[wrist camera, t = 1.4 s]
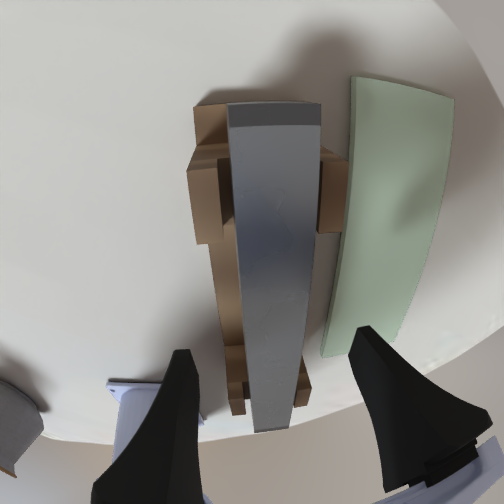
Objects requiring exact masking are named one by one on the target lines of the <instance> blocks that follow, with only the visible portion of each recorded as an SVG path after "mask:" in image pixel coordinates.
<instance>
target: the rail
mask: <svg viewBox="0 0 504 504" xmlns="http://www.w3.org/2000/svg"><path fill="white" fill-rule="evenodd" d="M226 115H227V131H228V147H229V161H230V176H231V190H232V203H233V216H234V229H235V241H236V254H237V266H238V277H239V289H240V300H241V311H242V322H243V333H244V343H245V353H246V363H247V373H248V383H249V393H250V402H251V411H252V418H253V426H254V433H259V432H267V431H274V430H281V429H287V428H289V423H290V418H291V413H292V408H293V402H294V397H295V391H296V386H297V380H298V374H299V368H300V361H301V355H302V348H303V341H304V334H305V327H306V320H307V312H308V304H309V295H310V287H311V277H312V268H313V257H314V246H315V234H316V221H317V207H318V190H319V169H320V137H321V104H317V103H309V102H301V101H261V102H238V103H226Z"/></svg>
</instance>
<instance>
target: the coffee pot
mask: <svg viewBox="0 0 504 504" xmlns="http://www.w3.org/2000/svg"><path fill="white" fill-rule="evenodd" d="M43 430H44V425H43V420H42V418H41V415H40V413H39V412H38V411H37V407H36V405H35V404H34V402H33V401H32V400H31V399H30V398H28V397H27V396H26V395H25V394H23V393H22V392H21V391H19V390H18V389H16V388H15V387H13V386H11V385H10V384H8V383H6V382H4V381H1V380H0V470H1V471H3V472H5V473H6V474H8V475H10V476H12V477H14V478H17V476H16V475H15V472H14V464H15V463H16V462H17V460H18V459H19V458H20V457H21V456H22V454H23V453H24V452H25V451H26V450H27V449H28V447H29V446H30V445H31V444H32V443H33V442H34V440H35V439H36V438H37V437H38V436H39V435H40V434H41V432H42V431H43Z"/></svg>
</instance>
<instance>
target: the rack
mask: <svg viewBox="0 0 504 504" xmlns="http://www.w3.org/2000/svg"><path fill="white" fill-rule="evenodd" d="M260 102H261V101H260ZM301 102H303V101H301ZM237 103H238V102H237ZM309 103H310V102H309ZM193 111H194V123H195V134H196V145H197V146H196V148H195V151H194V153H193V156H192V158H191V161H190V163H189V166H188V168H187V171H186V172H187V180H188V187H189V195H190V202H191V209H192V216H193V223H194V229H195V236H196V242H197V245H199V244H208V246H209V253H210V260H211V267H212V274H213V280H214V287H215V293H216V299H217V305H218V312H219V317H220V323H221V329H222V335H223V340H224V346H225V360H226V375H227V388H228V400H229V404H230V408H231V412H232V416H235V415H245V414H246V409H245V401H244V400H245V399H250V393H249V383H248V373H247V363H246V353H245V343H244V333H243V322H242V311H241V300H240V289H239V277H238V266H237V254H236V241H235V229H234V216H233V203H232V190H231V176H230V161H229V147H228V131H227V115H226V103H223V104H212V105H202V106H194V107H193ZM348 172H349V162H348V161H346V160H345V159H343V158H341V157H340V156H338V155H336V154H334V153H333V152H331V151H329V150H328V149H326V148H324V147H322V146H320V169H319V190H318V207H317V221H316V230H317V232H318V234H319V233H331V232H342V230H343V222H344V214H345V205H346V195H347V184H348ZM311 389H312V387H311V384H310V380H309V377H308V373H307V370H306V367H305V363H304V360H303V356H302V355H301V361H300V368H299V374H298V380H297V386H296V391H295V397H294V402H293V406H294V408H296V407H301V406H307V404H308V400H309V397H310V393H311Z"/></svg>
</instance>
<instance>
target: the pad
mask: <svg viewBox="0 0 504 504" xmlns="http://www.w3.org/2000/svg"><path fill="white" fill-rule="evenodd" d="M454 105H455V100H454V99H451V98H448V97H445V96H442V95H439V94H435V93H432V92H428V91H425V90H421V89H417V88H413V87H409V86H405V85H401V84H396V83H392V82H387V81H382V80H376V79H370V78H364V77H358V76H352V77H351V119H350V143H349V160H348V162H349V172H348V184H347V195H346V205H345V214H344V222H343V230H342V232H341V240H340V247H339V254H338V261H337V267H336V274H335V280H334V286H333V291H332V297H331V302H330V308H329V313H328V318H327V323H326V328H325V333H324V337H323V342H322V346H321V351H320V354H321V357H322V358H327V357H332V356H337V355H341V354H346V353H349V351H350V348H351V345H352V342H353V339H354V336H355V333H356V330H357V327H362V326H367V325H370V326H371V327H372V328H373V329H374V330H375V331H376V332H377V333H378V334H379V335H380V336H381V337H382V338H383V339H384V340H385V341H386V342H387V343H391V342H394V340H395V338H396V336H397V334H398V331H399V329H400V327H401V325H402V322H403V320H404V318H405V315H406V313H407V310H408V308H409V305H410V303H411V300H412V298H413V295H414V293H415V290H416V287H417V284H418V282H419V279H420V276H421V273H422V270H423V267H424V264H425V261H426V258H427V255H428V251H429V248H430V245H431V241H432V238H433V234H434V230H435V227H436V223H437V219H438V215H439V210H440V206H441V202H442V197H443V192H444V187H445V182H446V176H447V170H448V164H449V157H450V150H451V142H452V132H453V121H454Z"/></svg>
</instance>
